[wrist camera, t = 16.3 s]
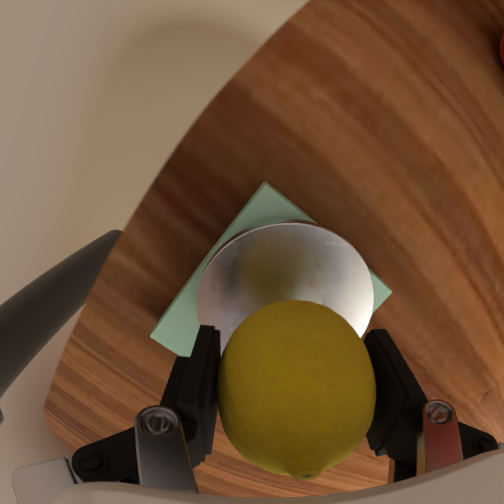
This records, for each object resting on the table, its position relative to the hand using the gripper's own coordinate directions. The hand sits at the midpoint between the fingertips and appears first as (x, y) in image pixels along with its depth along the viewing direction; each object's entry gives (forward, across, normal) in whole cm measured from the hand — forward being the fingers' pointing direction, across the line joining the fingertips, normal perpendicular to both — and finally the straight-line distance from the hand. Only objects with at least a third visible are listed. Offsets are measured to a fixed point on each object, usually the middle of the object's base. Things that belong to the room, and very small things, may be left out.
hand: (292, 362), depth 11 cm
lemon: (+3, 0, 0) cm, 3 cm away
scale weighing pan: (+4, 0, 0) cm, 4 cm away
